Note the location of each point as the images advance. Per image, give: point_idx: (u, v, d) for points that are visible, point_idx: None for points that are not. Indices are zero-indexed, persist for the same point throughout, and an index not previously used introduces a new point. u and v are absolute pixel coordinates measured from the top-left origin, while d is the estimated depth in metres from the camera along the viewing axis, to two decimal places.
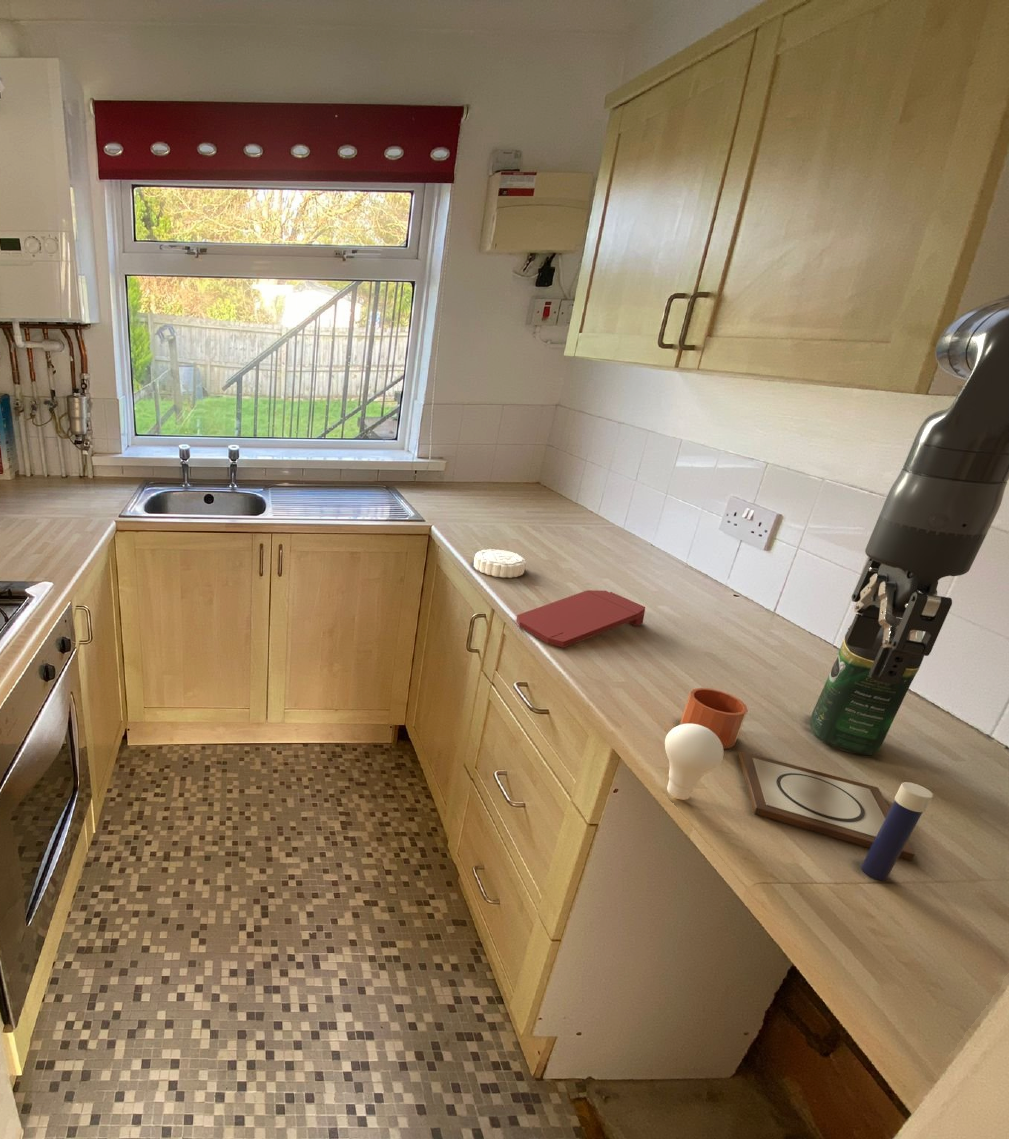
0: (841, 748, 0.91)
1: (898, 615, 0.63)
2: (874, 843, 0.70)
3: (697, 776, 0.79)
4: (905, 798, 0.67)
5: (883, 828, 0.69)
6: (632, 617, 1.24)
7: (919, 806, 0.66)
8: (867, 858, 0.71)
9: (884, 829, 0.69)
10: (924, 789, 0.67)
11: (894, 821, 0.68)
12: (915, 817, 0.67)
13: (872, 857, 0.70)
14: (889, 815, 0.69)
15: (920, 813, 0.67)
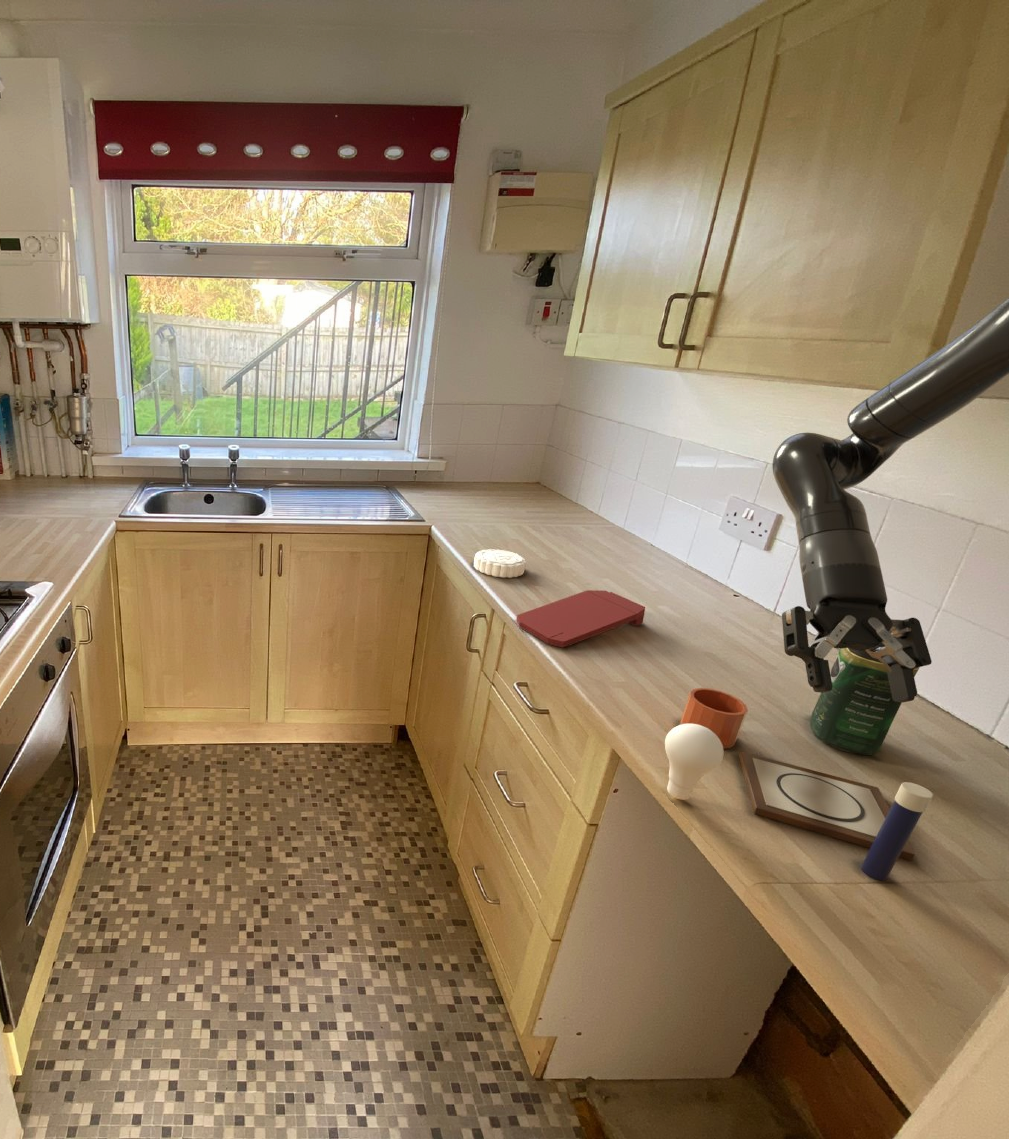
0: (841, 748, 0.91)
1: None
2: (874, 843, 0.70)
3: (697, 776, 0.79)
4: (905, 798, 0.67)
5: (883, 828, 0.69)
6: (632, 617, 1.24)
7: (919, 806, 0.66)
8: (867, 858, 0.71)
9: (884, 829, 0.69)
10: (924, 789, 0.67)
11: (894, 821, 0.68)
12: (915, 817, 0.67)
13: (872, 857, 0.70)
14: (889, 815, 0.69)
15: (920, 813, 0.67)
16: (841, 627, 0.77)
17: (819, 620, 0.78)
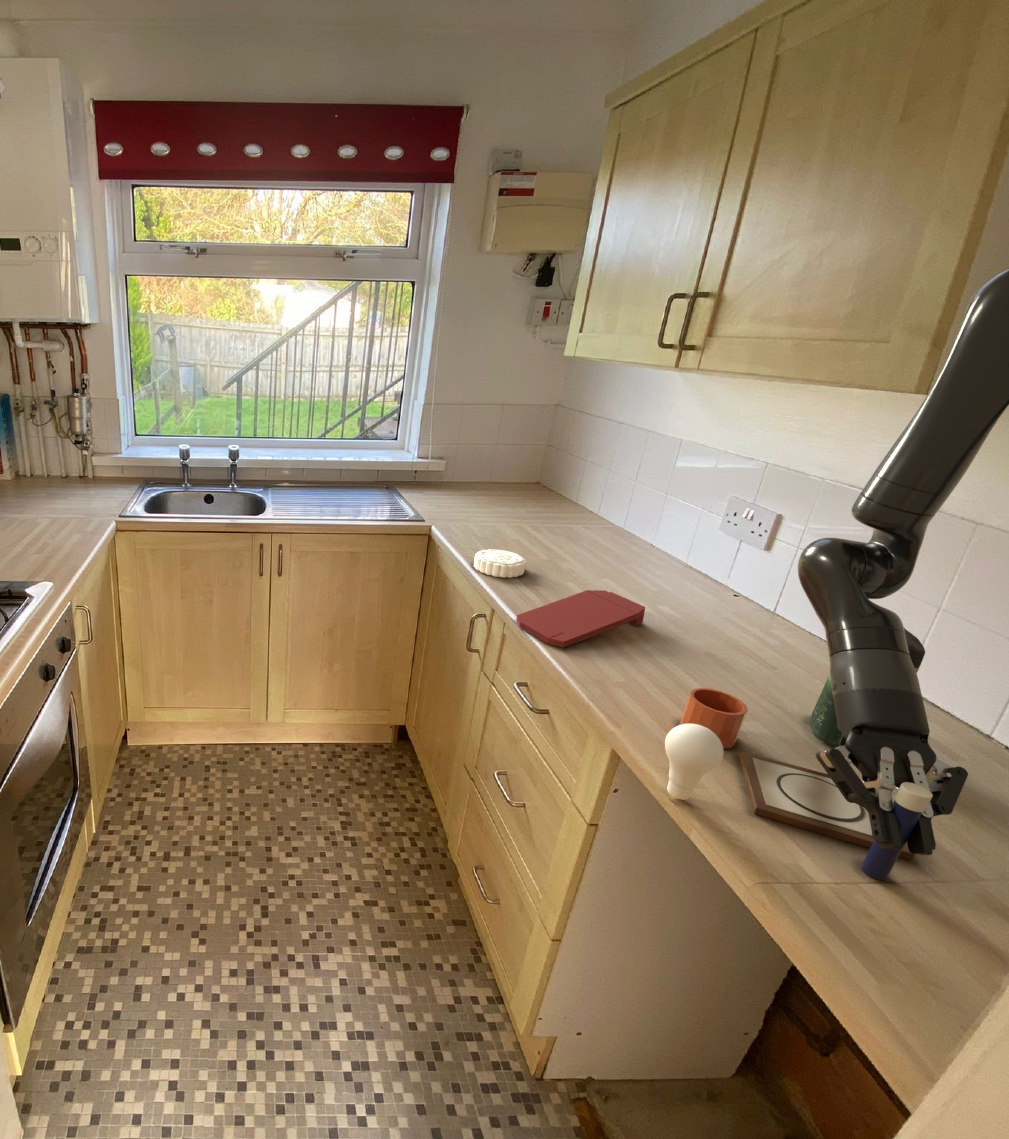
0: None
1: (865, 774, 0.71)
2: (874, 843, 0.70)
3: (697, 776, 0.79)
4: (905, 798, 0.67)
5: None
6: (632, 617, 1.24)
7: (919, 806, 0.66)
8: (867, 858, 0.71)
9: None
10: (924, 789, 0.67)
11: None
12: (915, 817, 0.67)
13: (872, 857, 0.70)
14: None
15: (920, 813, 0.67)
16: (885, 765, 0.70)
17: (852, 750, 0.71)
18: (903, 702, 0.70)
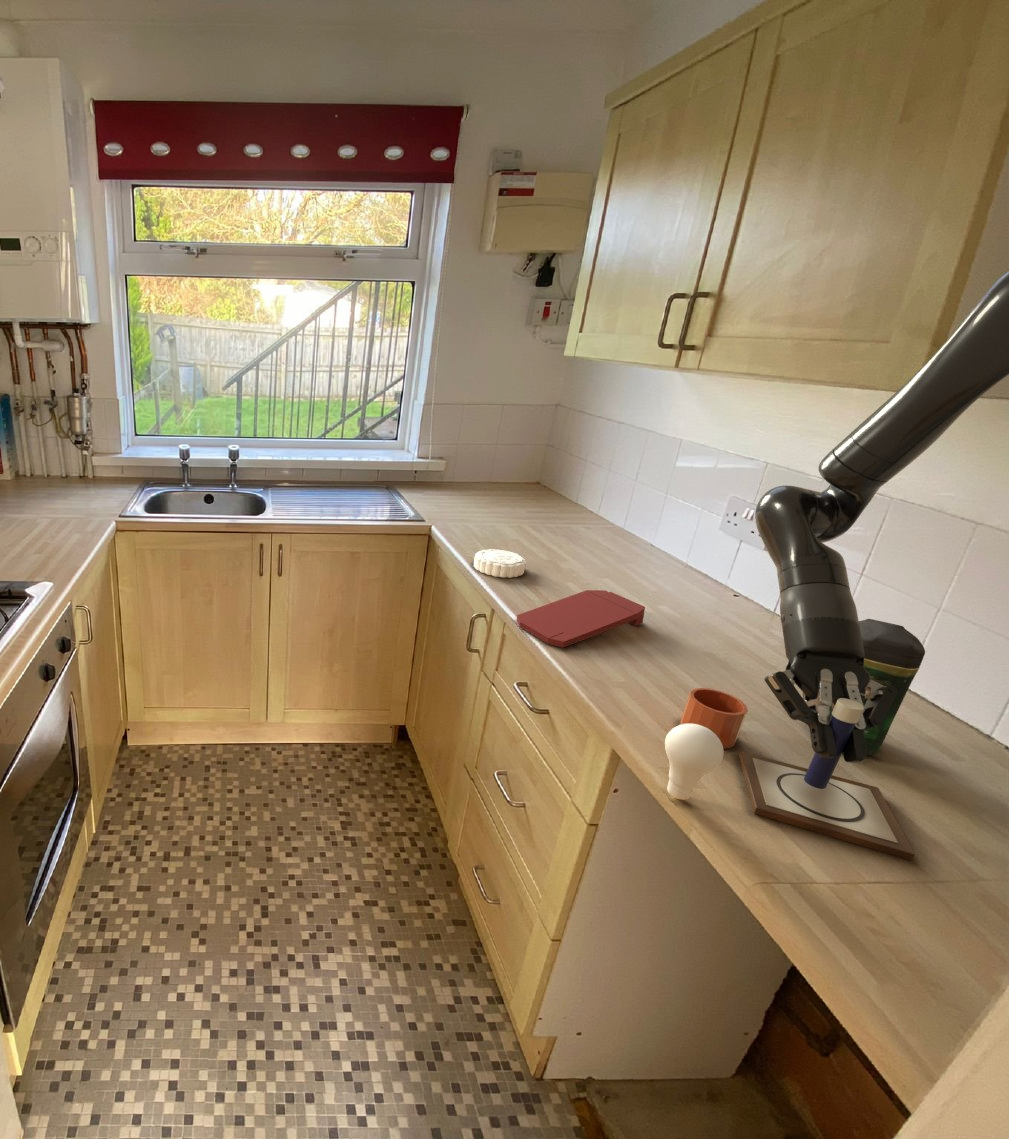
0: None
1: (807, 694, 0.79)
2: (814, 755, 0.78)
3: (697, 776, 0.79)
4: (840, 711, 0.75)
5: None
6: (632, 617, 1.24)
7: (852, 718, 0.74)
8: (809, 769, 0.79)
9: None
10: (857, 703, 0.75)
11: None
12: (849, 728, 0.75)
13: (813, 768, 0.78)
14: None
15: (853, 724, 0.75)
16: (824, 684, 0.77)
17: (796, 673, 0.79)
18: (841, 628, 0.78)
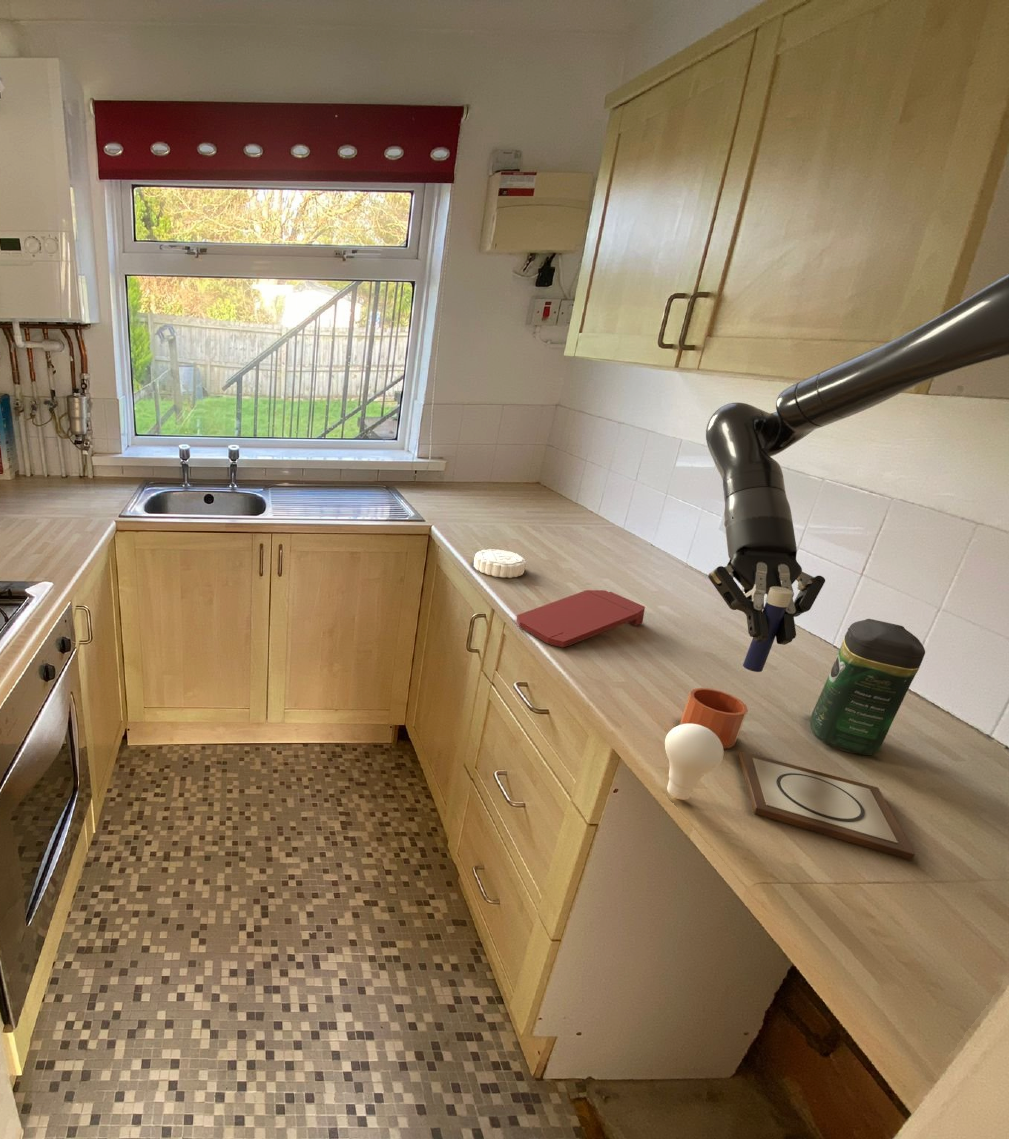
0: (841, 748, 0.91)
1: (745, 587, 0.87)
2: None
3: (697, 776, 0.79)
4: (772, 597, 0.83)
5: None
6: (632, 617, 1.24)
7: (782, 602, 0.82)
8: (747, 655, 0.87)
9: None
10: (787, 590, 0.83)
11: None
12: (780, 612, 0.83)
13: (750, 653, 0.86)
14: None
15: (784, 608, 0.82)
16: (759, 575, 0.85)
17: (735, 567, 0.87)
18: (775, 525, 0.86)
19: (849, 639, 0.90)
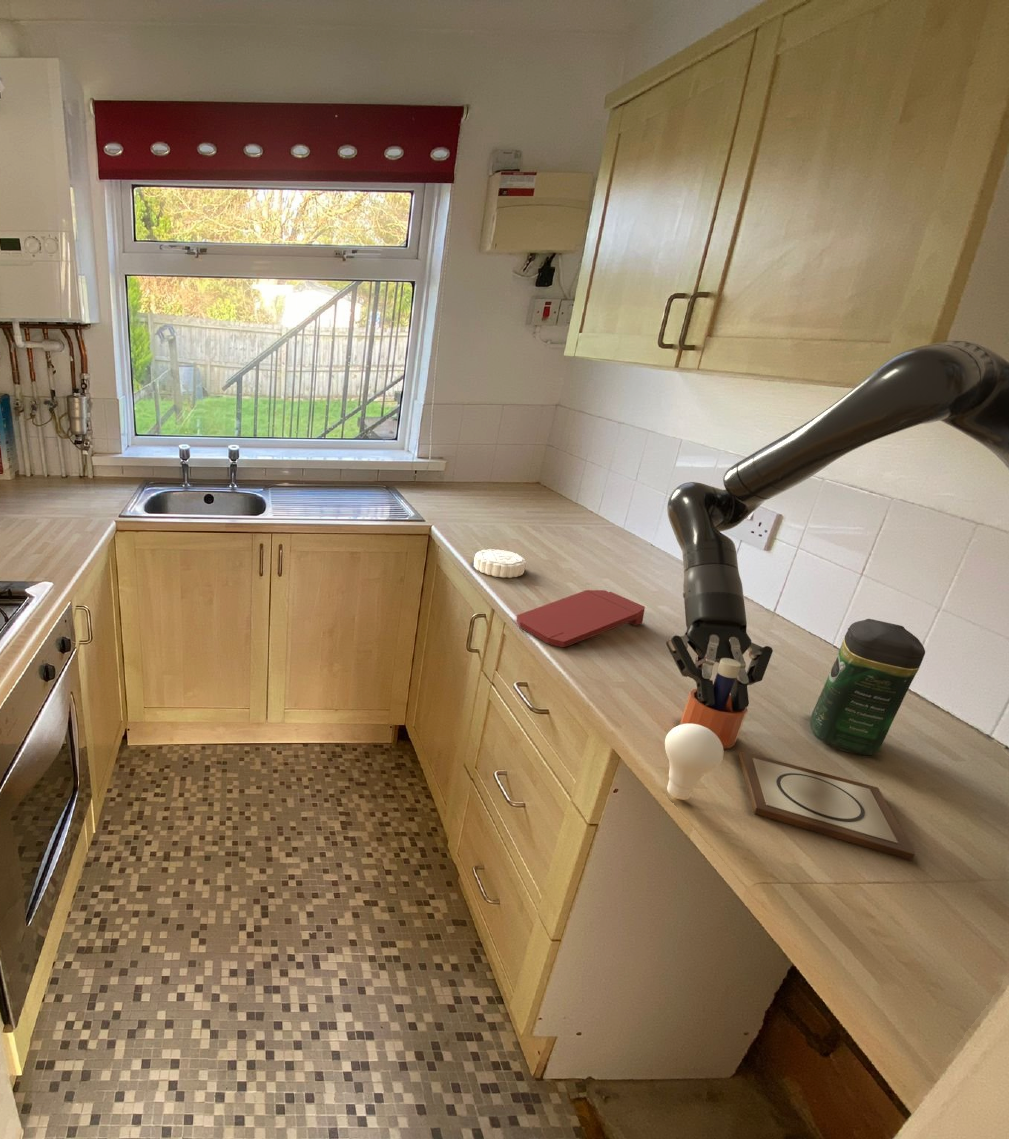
0: (841, 748, 0.91)
1: (700, 656, 0.95)
2: None
3: (697, 776, 0.79)
4: (722, 668, 0.91)
5: None
6: (632, 617, 1.24)
7: (731, 673, 0.90)
8: None
9: None
10: (736, 662, 0.91)
11: (716, 687, 0.92)
12: (729, 682, 0.91)
13: None
14: (714, 683, 0.92)
15: (733, 679, 0.90)
16: (711, 647, 0.93)
17: (691, 638, 0.95)
18: (727, 601, 0.93)
19: (849, 639, 0.90)
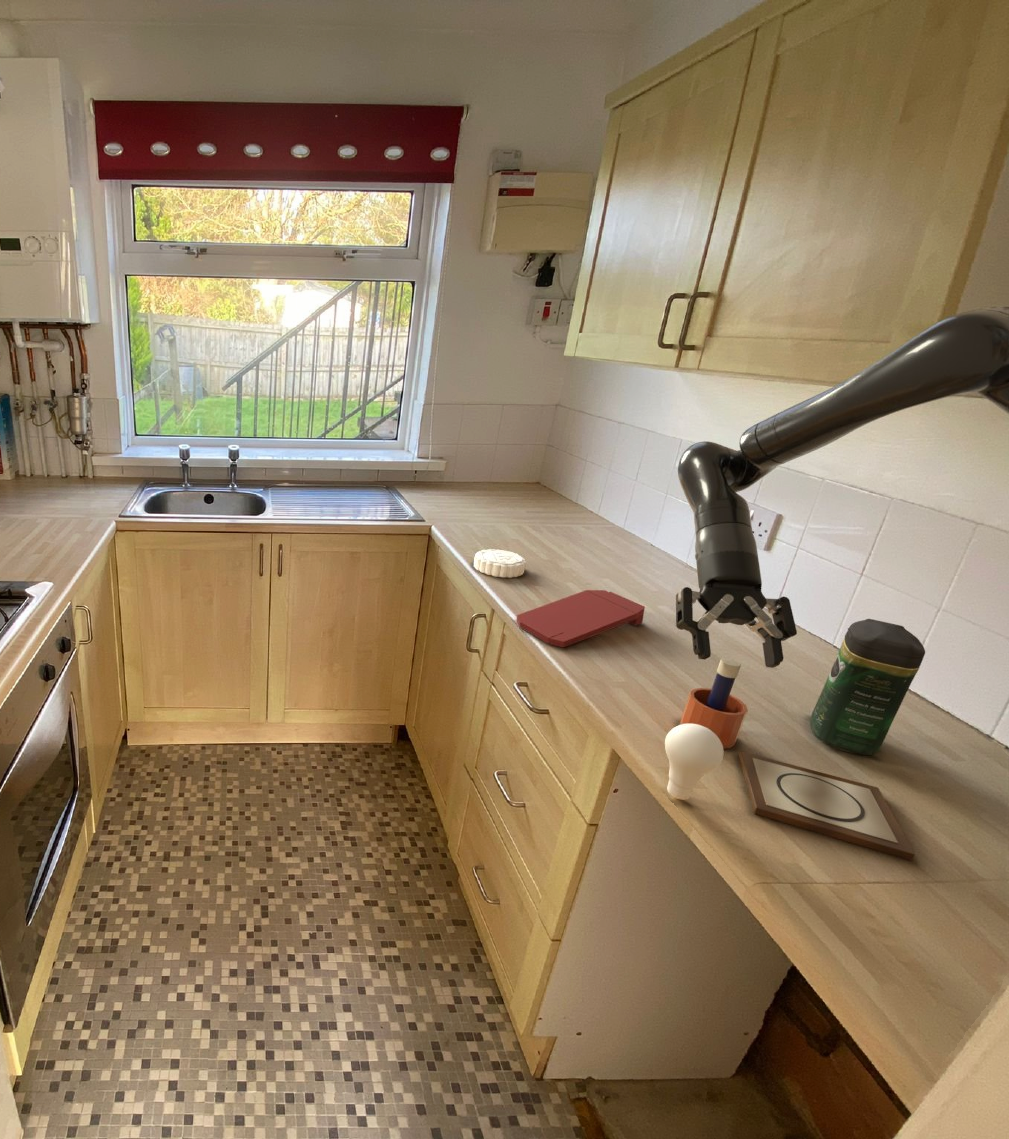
0: (841, 748, 0.91)
1: None
2: None
3: (697, 776, 0.79)
4: (722, 668, 0.91)
5: (710, 694, 0.93)
6: (632, 617, 1.24)
7: (731, 673, 0.90)
8: None
9: (711, 695, 0.93)
10: (736, 662, 0.91)
11: (716, 687, 0.92)
12: (729, 682, 0.91)
13: None
14: (714, 683, 0.92)
15: (733, 679, 0.90)
16: (721, 604, 0.91)
17: (704, 599, 0.92)
18: (741, 559, 0.91)
19: (849, 639, 0.90)
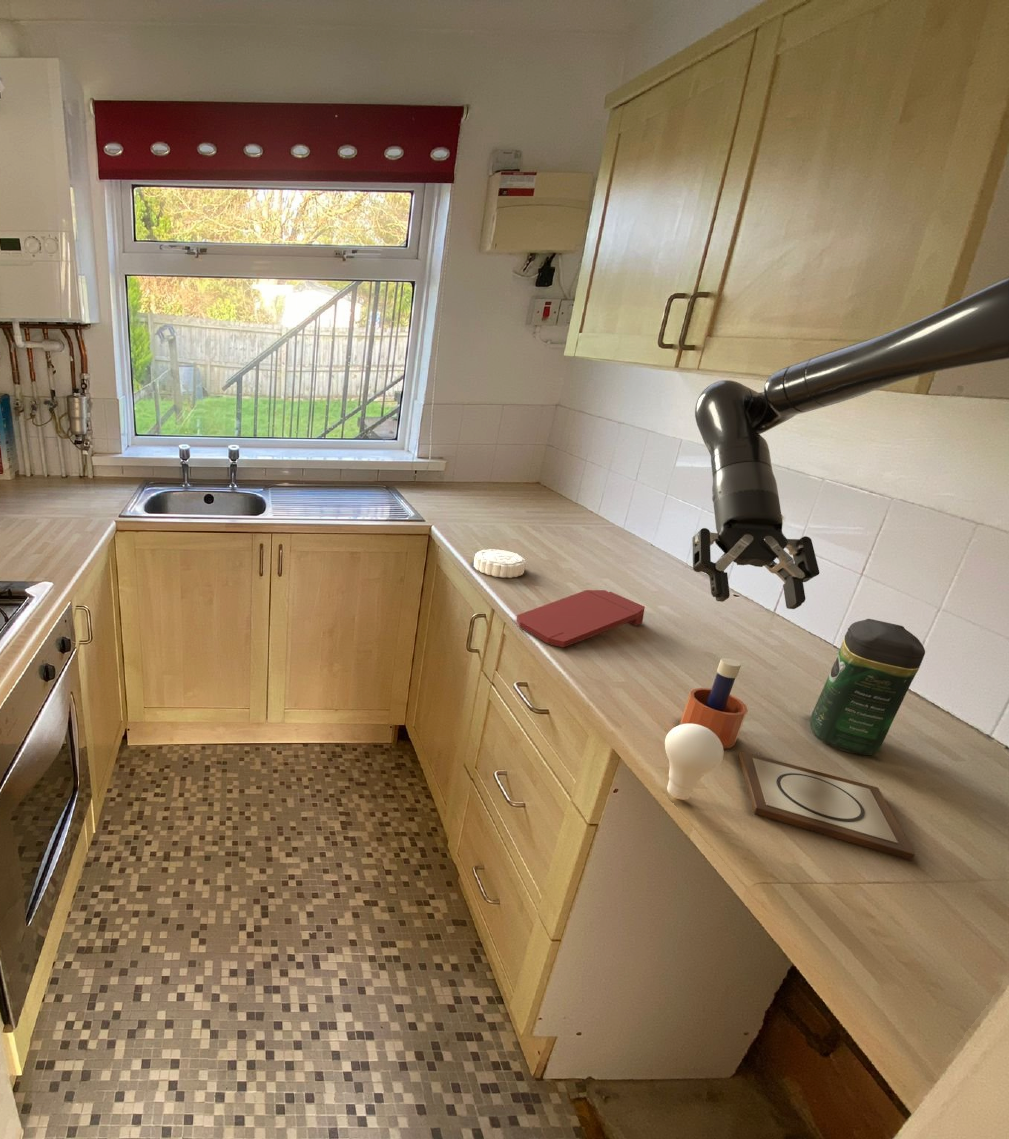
0: (841, 748, 0.91)
1: None
2: None
3: (697, 776, 0.79)
4: (722, 668, 0.91)
5: (710, 694, 0.93)
6: (632, 617, 1.24)
7: (731, 673, 0.90)
8: None
9: (711, 695, 0.93)
10: (736, 662, 0.91)
11: (716, 687, 0.92)
12: (729, 682, 0.91)
13: None
14: (714, 683, 0.92)
15: (733, 679, 0.90)
16: (740, 544, 0.87)
17: (722, 540, 0.89)
18: (761, 498, 0.87)
19: (849, 639, 0.90)
